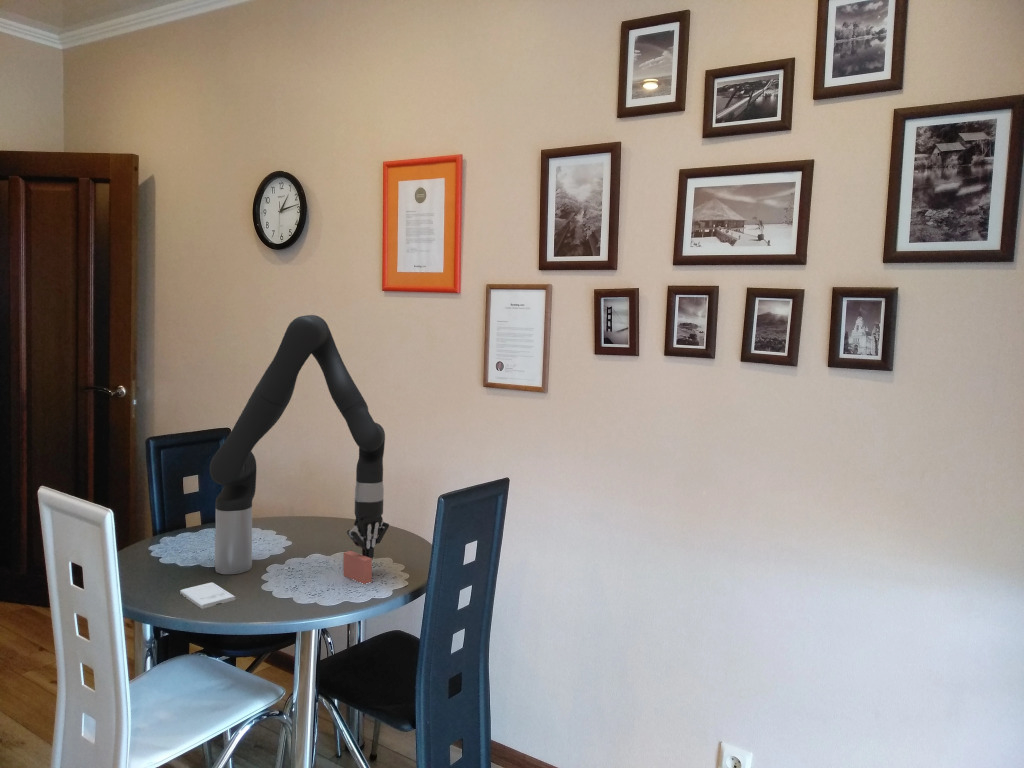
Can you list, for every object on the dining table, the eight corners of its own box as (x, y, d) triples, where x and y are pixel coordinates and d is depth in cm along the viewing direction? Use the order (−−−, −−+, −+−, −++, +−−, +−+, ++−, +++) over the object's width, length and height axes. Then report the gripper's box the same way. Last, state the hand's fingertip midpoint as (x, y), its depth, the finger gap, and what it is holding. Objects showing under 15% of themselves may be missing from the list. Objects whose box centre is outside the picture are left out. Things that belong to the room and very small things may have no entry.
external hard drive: (213, 588, 175) (235, 602, 167) (180, 596, 169) (201, 611, 161) (213, 581, 175) (235, 595, 166) (180, 589, 169) (201, 604, 160)
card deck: (343, 576, 185) (343, 552, 184) (350, 573, 187) (350, 550, 186) (364, 584, 179) (364, 560, 179) (371, 582, 181) (371, 558, 181)
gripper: (379, 491, 191) (378, 552, 192) (340, 499, 181) (338, 563, 182) (397, 496, 186) (395, 558, 187) (358, 504, 176) (356, 570, 177)
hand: (367, 560), depth 185 cm, fingers closed
